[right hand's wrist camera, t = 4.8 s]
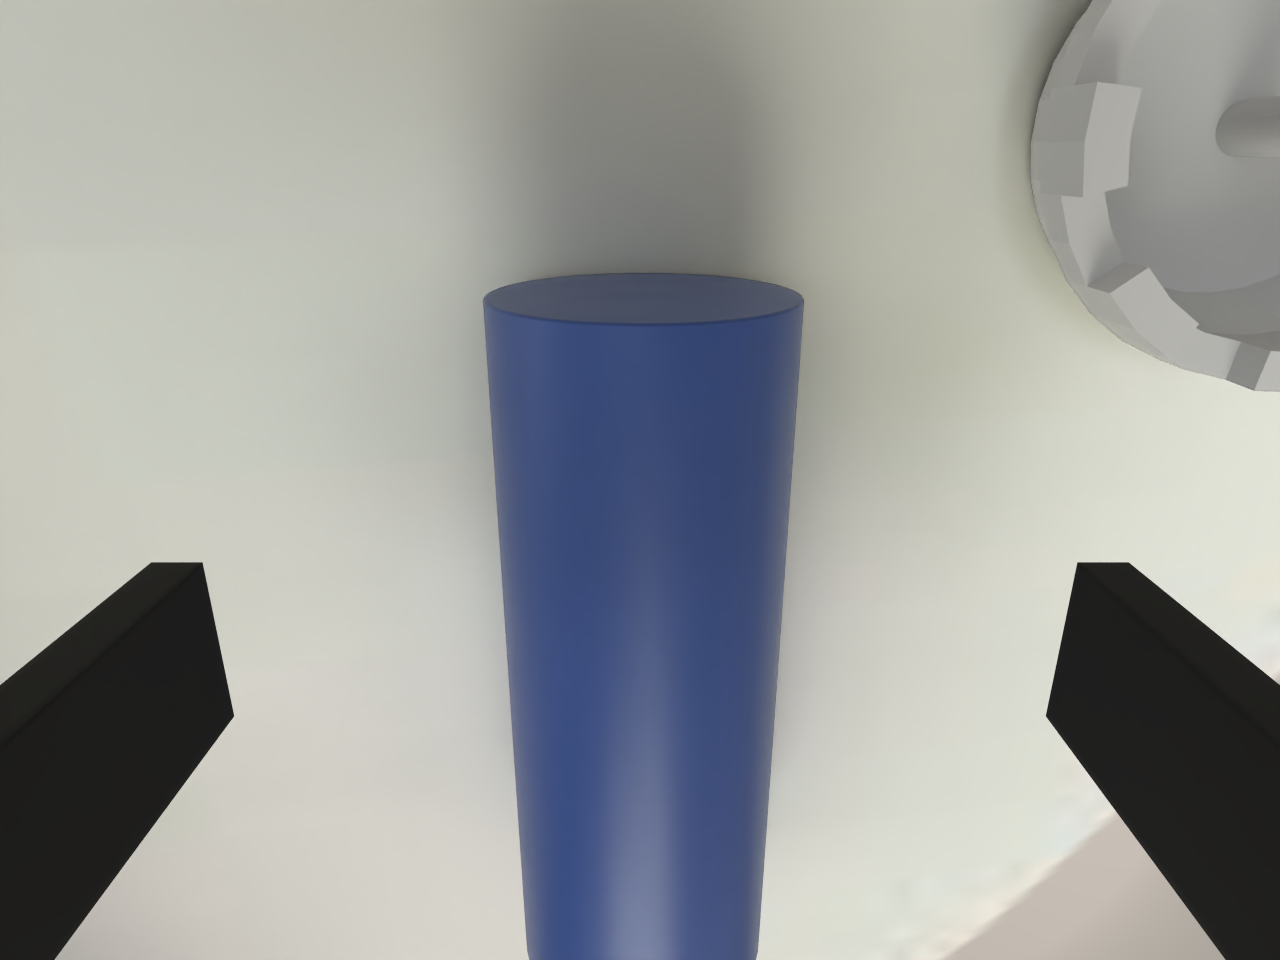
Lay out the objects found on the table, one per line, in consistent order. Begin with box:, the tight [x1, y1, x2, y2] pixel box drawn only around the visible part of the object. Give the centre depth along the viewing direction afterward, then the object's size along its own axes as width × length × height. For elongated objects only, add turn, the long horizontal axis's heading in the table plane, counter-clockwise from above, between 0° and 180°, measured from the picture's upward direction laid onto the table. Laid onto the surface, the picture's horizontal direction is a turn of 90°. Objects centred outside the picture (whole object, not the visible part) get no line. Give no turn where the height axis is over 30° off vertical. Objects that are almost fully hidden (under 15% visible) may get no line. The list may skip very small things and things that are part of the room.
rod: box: [483, 273, 804, 960], centre depth 26 cm, size 23×8×8 cm, turn 0°
